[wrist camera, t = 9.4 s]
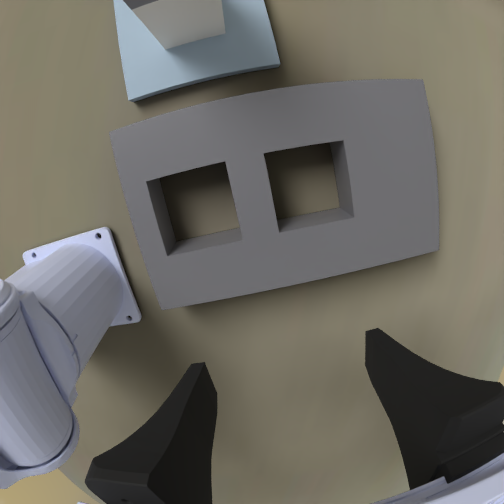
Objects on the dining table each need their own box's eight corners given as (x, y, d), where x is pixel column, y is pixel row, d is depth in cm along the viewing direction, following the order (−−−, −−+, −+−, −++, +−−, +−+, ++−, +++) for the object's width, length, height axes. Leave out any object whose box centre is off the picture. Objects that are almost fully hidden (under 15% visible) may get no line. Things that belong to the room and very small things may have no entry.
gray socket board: (170, 290, 23) (161, 310, 20) (126, 133, 19) (108, 132, 16) (419, 237, 22) (438, 249, 19) (402, 85, 18) (422, 79, 15)
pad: (133, 102, 18) (128, 100, 17) (117, -9, 15) (112, -13, 14) (278, 67, 18) (280, 63, 17) (248, -42, 14) (248, -48, 13)
